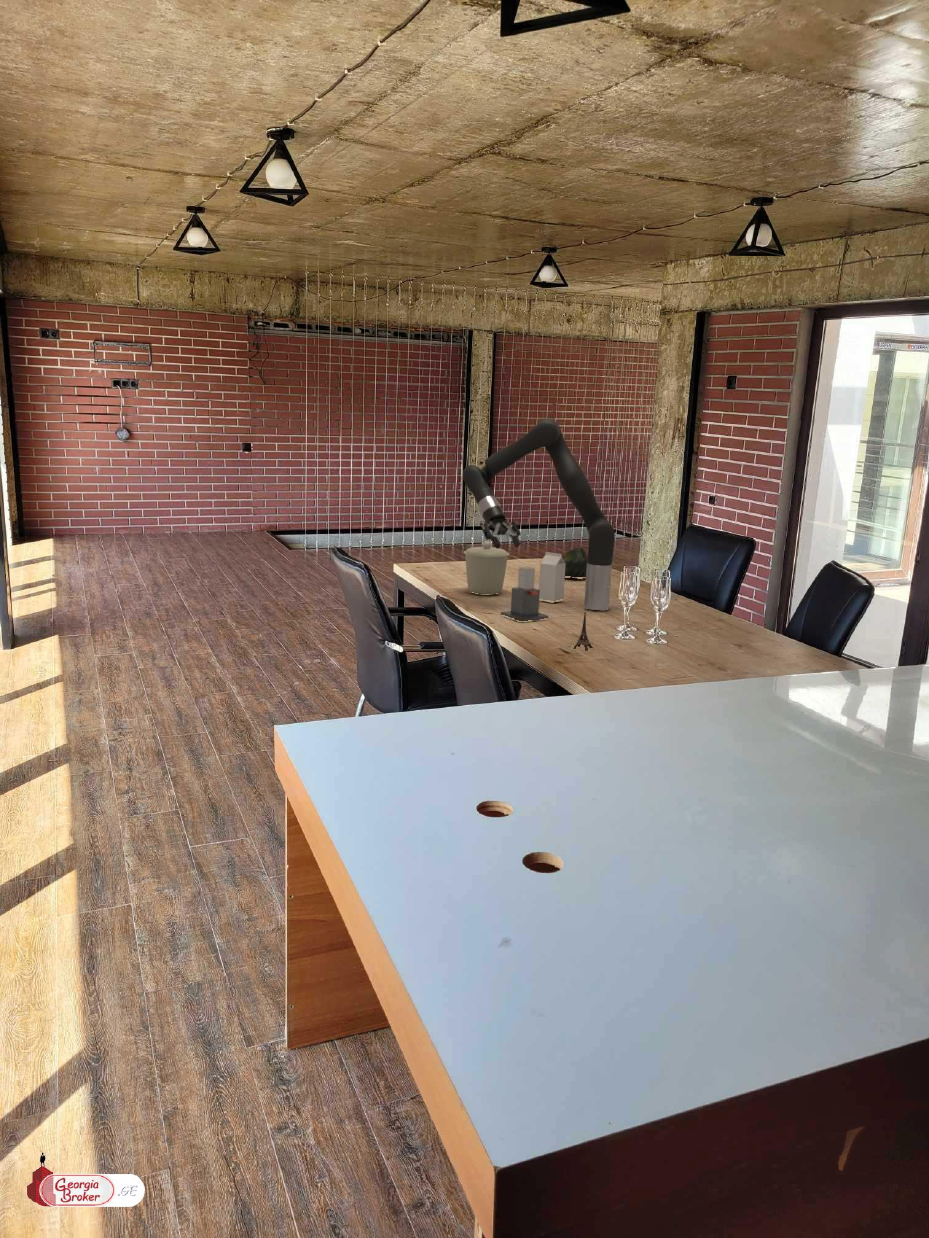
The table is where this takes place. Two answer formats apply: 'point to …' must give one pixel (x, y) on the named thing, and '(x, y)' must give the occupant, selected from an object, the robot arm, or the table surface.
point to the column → (526, 578)
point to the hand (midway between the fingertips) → (508, 546)
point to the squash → (575, 562)
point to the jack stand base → (525, 605)
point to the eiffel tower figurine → (581, 640)
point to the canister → (485, 568)
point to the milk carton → (552, 577)
